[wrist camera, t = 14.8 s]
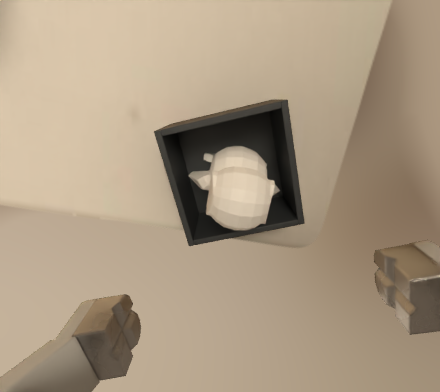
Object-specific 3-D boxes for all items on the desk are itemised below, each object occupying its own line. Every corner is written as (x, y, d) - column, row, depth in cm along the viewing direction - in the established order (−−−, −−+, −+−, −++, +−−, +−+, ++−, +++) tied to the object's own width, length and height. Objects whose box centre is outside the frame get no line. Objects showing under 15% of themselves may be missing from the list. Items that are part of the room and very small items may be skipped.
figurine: (191, 177, 27) (168, 231, 16) (197, 131, 26) (177, 155, 14) (269, 189, 28) (300, 251, 16) (279, 145, 26) (322, 179, 15)
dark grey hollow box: (272, 99, 25) (287, 99, 19) (287, 197, 28) (304, 223, 22) (170, 124, 26) (153, 131, 20) (196, 216, 29) (188, 246, 23)
